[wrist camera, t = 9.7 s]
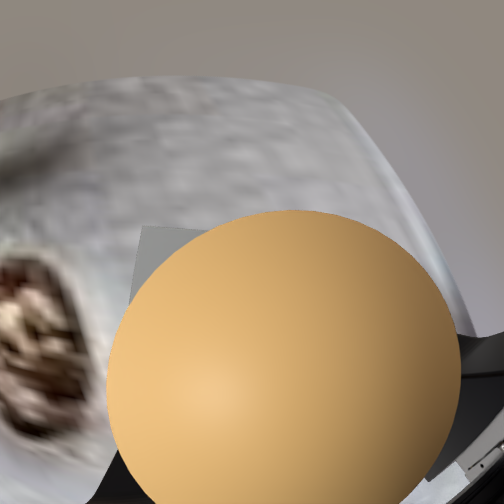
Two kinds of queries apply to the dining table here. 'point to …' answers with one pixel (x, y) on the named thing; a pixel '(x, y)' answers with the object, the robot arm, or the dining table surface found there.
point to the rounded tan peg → (284, 367)
